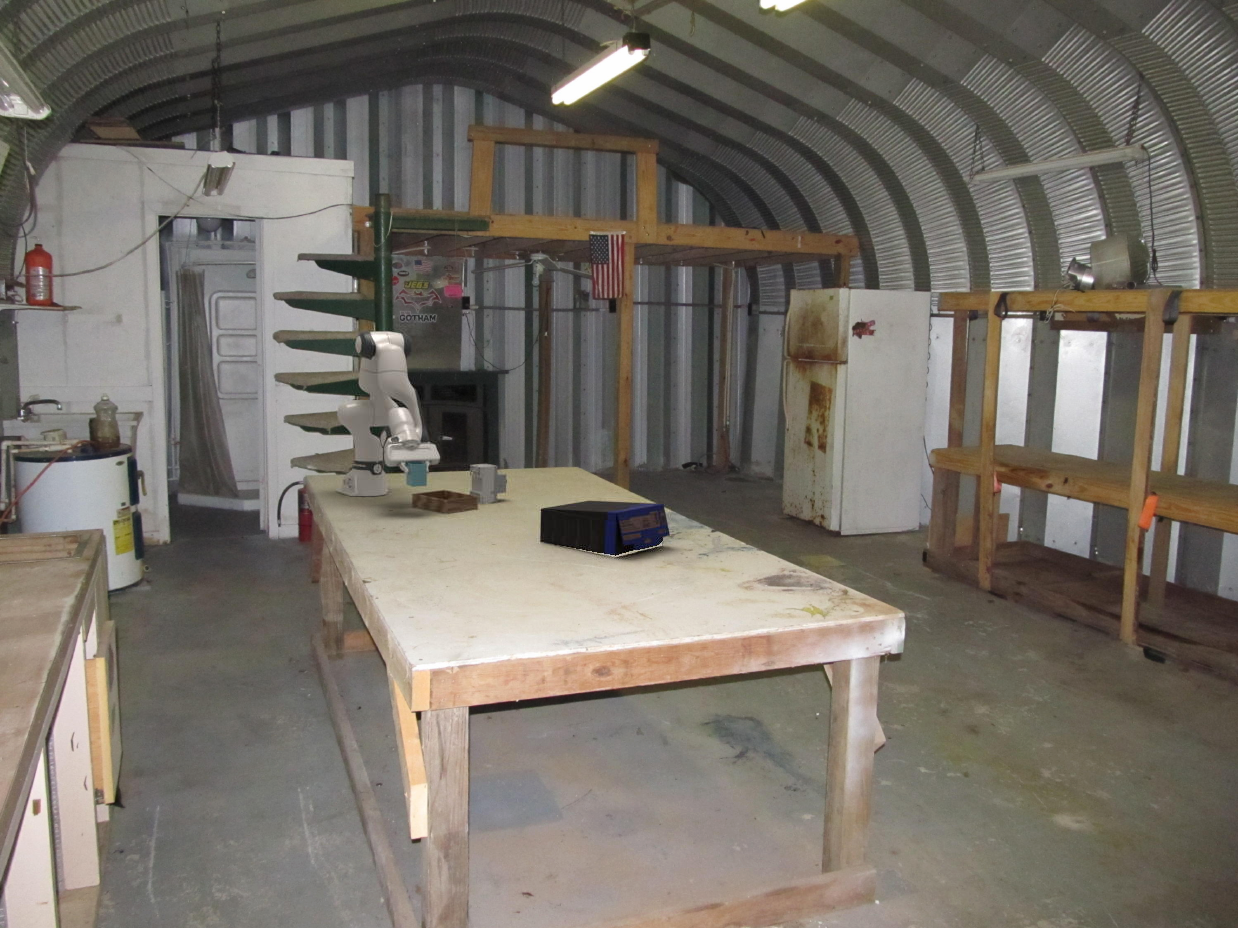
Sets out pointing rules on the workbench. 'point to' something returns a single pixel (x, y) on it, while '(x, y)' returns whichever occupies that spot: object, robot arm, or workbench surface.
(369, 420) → the robot arm
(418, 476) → the teal crate
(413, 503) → the walnut crate
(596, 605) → the workbench surface
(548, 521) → the black and blue box
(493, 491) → the circuit breaker
